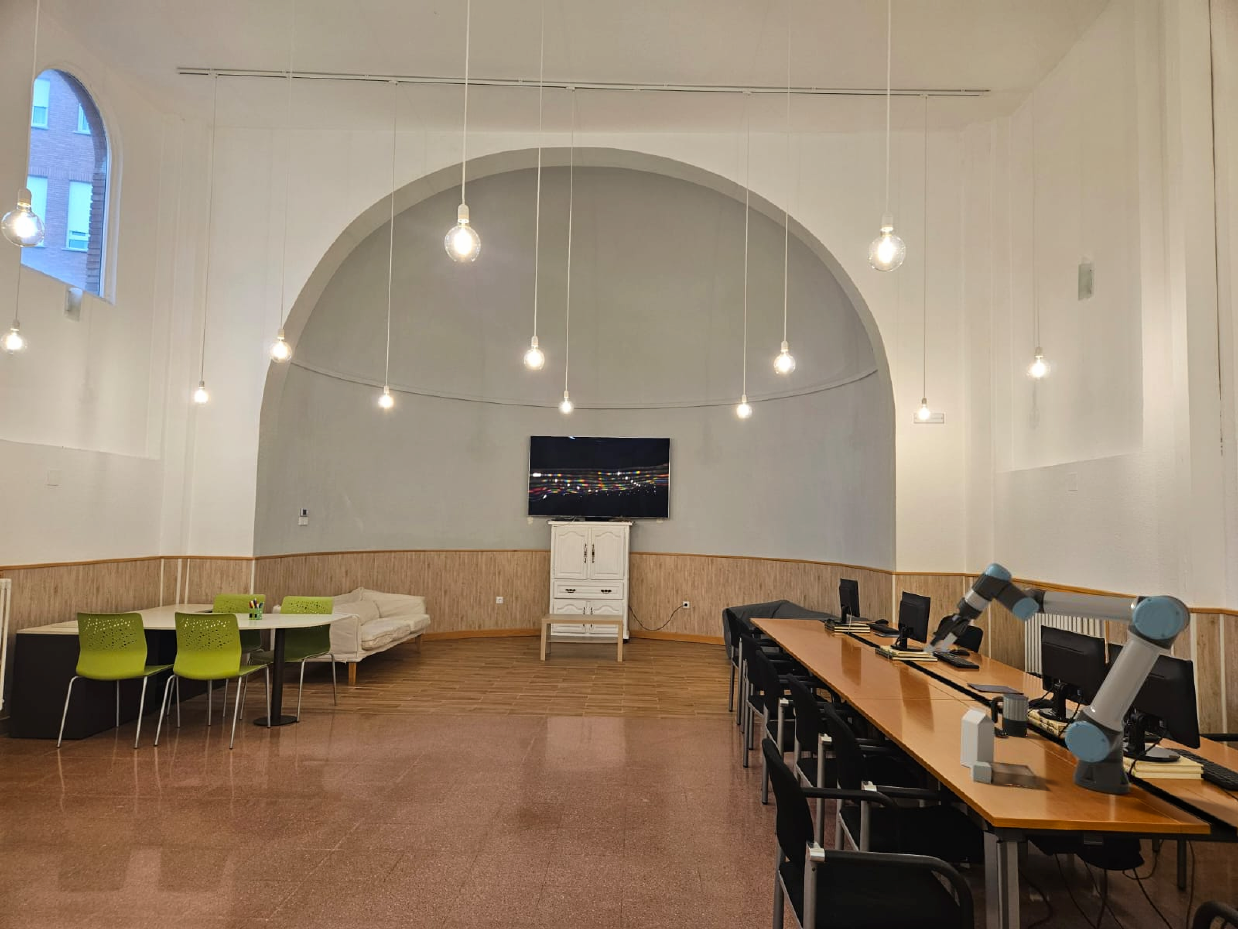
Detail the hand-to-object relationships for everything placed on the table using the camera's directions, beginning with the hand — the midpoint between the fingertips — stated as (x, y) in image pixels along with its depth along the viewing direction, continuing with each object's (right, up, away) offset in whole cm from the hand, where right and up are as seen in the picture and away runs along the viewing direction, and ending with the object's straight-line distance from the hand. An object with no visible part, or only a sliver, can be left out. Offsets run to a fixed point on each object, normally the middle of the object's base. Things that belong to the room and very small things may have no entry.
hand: (934, 650), depth 282 cm
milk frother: (+42, -41, +37) cm, 69 cm away
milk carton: (+10, -36, -11) cm, 39 cm away
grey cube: (+5, -35, -25) cm, 43 cm away
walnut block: (+15, -36, -23) cm, 45 cm away
